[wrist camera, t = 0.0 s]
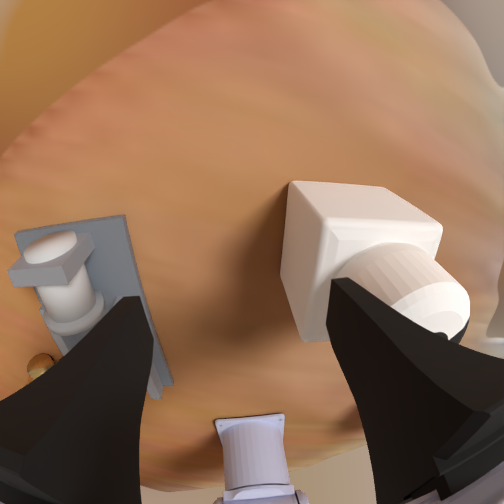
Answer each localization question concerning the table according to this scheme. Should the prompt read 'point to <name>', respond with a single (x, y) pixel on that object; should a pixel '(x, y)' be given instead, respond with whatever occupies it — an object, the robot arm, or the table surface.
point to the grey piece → (84, 281)
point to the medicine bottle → (366, 257)
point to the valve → (39, 366)
